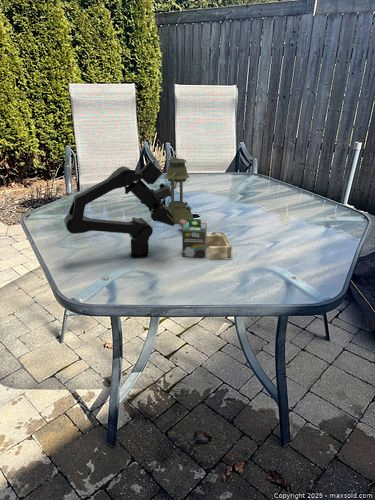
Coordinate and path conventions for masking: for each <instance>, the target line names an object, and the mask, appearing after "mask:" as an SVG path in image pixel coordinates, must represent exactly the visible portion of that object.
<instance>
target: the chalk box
mask: <svg viewBox="0 0 375 500" xmlns="http://www.w3.org/2000/svg"><path fill="white" fill-rule="evenodd" d="M207 227H208V225H207V222H202V220H201V219H200V218H194V219H189V223H185V224H184V227H183V229H182V231H181V235H182V236H181V238H182V241H181V242H182V243H181V244H182V248H181V249H182V257H183V258H184V257H187V258H202V259H203V258H206V254H207V247H206V241H207V235H208V234H207V231H208V230H207V229H208V228H207Z"/></svg>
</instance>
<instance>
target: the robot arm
mask: <svg viewBox="0 0 375 500" xmlns="http://www.w3.org/2000/svg"><path fill="white" fill-rule="evenodd" d="M162 175H163V172H162V171H161V169H160V168H158V166H156V165H155V164H153V163H152V162H151V161H150V160H149V161H147V162H146V163H145V165H144V166H143V167H142V168H141V170H140V171H139V170H135V169H130V168H129V167H128V166H120V167H118V168H117V169H116V170H115V171H113V172H112V173H111V174H110V175H109V176H108V177H107V178H105V179H104V180H102V181H100V182H98V183H96V184H95V185H93V186H91V187H89V188H87V189H86V190H84V191H82V192H80V193H78V194H75V195H74V197H73V199H72V203H71V206H70V208H69V211H68V214H66V215H65V217H64V221H63V222H64V225H65V227H66V230H67V231H68V233H70V234H84V233H88V232H91V231H92V232H104V233H105V232H107V233H115V234H117V233H119V234H128V235H129V237H130V251H131V252H130V258H134V259H135V258H137V259H138V258H148V255H149V254H150V247H149V245H150V244H149V240H150V237H151V236H152V235H153V233H154V232H153V227H152V226H151V225H150V223H148V221H147V220H146V219H144V218H142V217H134V216H133V217H131V220H130V221H119V220H111V219H109V220H108V219H100V218H99V219H98V218H90V217H87V216H86V215H84V213H85V208H86V205H88V204H90V203H92V202H94V201H96V200H98V199H99V198H101V197H102V196H105V195H106V194H108V193H110V192H112V191H114V190H116V189H121V188H124V194H125V195H128V194H129V193H132V194H133V196H135V197H136V198H137V199H138V200H139V201H140V204H142V205H144V206H145V207H146V208H147V209H148V211H149V212H150V218H151V220H152V221H153V222H159V223H162V224H166V225H168V226H172V227H174V226H175V225H176V224H174V222H173V221H172V218H173V216H172V214H171V213H170V211H169V210H168V208H167V207H166V205H167V201H166V199H167V198H168V197H170V196H171V195H172V192H171V189H170V188H171V187H170V188H169V186H170V184H167V185H166V183H165V184H164V183H163V182H161V183H160V184H159V188H157V189H156V190H154V188H150V187H149V185H154V184H155V183H156V181H158V179H159V178H161V177H162ZM144 182H145V183H144ZM164 198H165V199H164Z"/></svg>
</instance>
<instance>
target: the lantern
mask: <svg viewBox="0 0 375 500" xmlns="http://www.w3.org/2000/svg"><path fill="white" fill-rule="evenodd" d="M167 162H168V163H169V164H168V167H167V169H166V174H165V175H164V178H165V180H167V181H168V183H169V182H170V184H169V188H170V190H171V192H172V195H171V196H169V199H168V200H167V199H166V198H164V199H165V201H166V207H167V208H168V210H169V211H170V213H171V214H172V216H173V218H172V221H173V222H174V224H175V225H179V221H180V220H186V221H187V222H189V219H195V218H194V216H193V213H192V208H191V207H190V206H189V205H188V202H187V201H185V200H186V198H185V199H183V198H184V197H183V196H185V197H187V198H189V196H187V195H185V194H183V192H184V191H183V186H184V183H186V182H187V183H189V180H188V179H189V178H190V177H191V176H190V175H189V174H188V170H187V166H186V163H187V160H185V159H184V158H179V157H178V158H177V157H171V158H168V159H167ZM177 184H179V185H177ZM165 185H168V184H167V183H165ZM176 185H177V186H176ZM177 187H179V192H178V191H176V190H175V189H176V188H177ZM175 192H176V193H177V194H179V200H175Z"/></svg>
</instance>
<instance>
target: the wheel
mask: <svg viewBox="0 0 375 500" xmlns="http://www.w3.org/2000/svg"><path fill="white" fill-rule="evenodd" d="M219 234H225V233H224V232H222V231H220V232H219V231H214V232H211V234H210V235H219Z"/></svg>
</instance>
